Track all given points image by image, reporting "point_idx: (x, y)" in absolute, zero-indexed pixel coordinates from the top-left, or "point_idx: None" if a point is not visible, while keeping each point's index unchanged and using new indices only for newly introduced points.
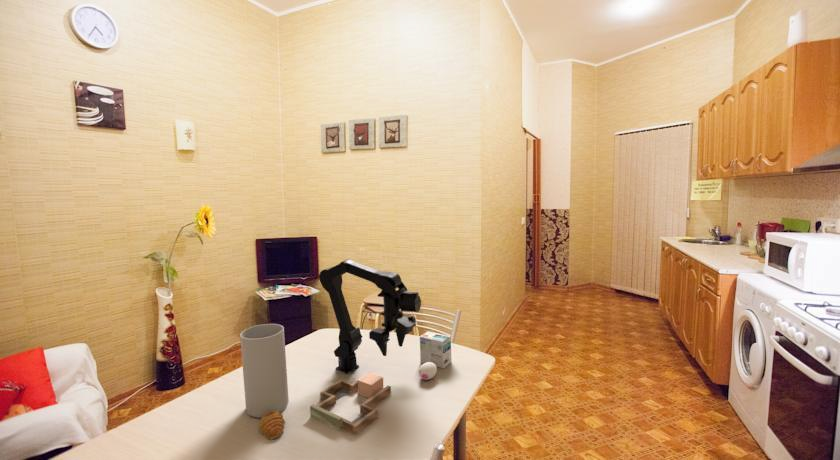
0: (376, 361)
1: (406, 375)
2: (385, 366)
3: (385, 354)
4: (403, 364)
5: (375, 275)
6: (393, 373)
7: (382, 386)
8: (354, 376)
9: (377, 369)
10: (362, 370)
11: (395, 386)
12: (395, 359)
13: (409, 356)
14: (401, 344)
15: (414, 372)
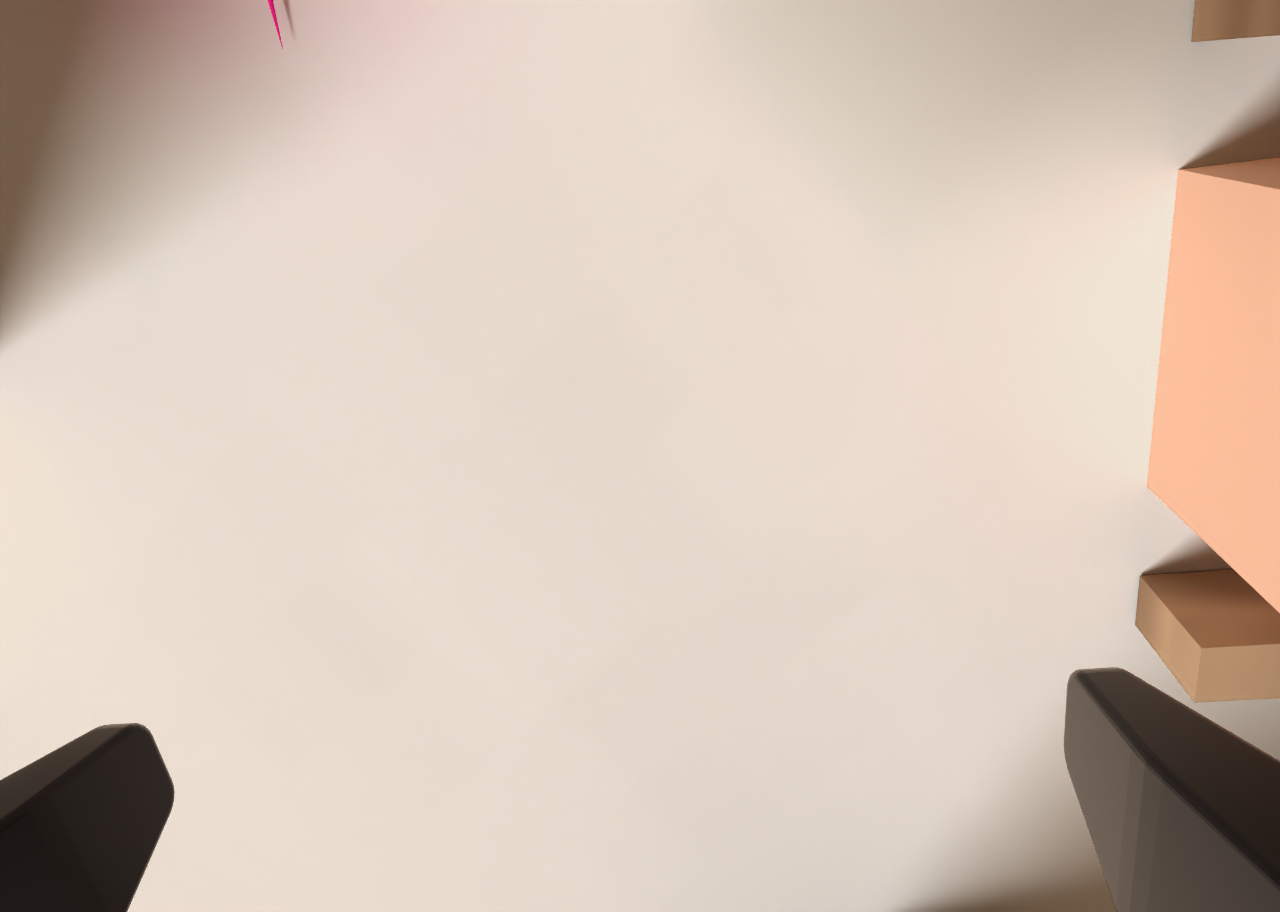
0: (500, 889)
1: (465, 239)
2: (509, 713)
3: (1172, 703)
4: (251, 549)
5: None
6: (578, 473)
7: (1270, 175)
8: (1029, 843)
9: (658, 740)
10: (822, 869)
11: (912, 102)
12: (251, 739)
13: (16, 646)
14: (81, 779)
15: (278, 198)
